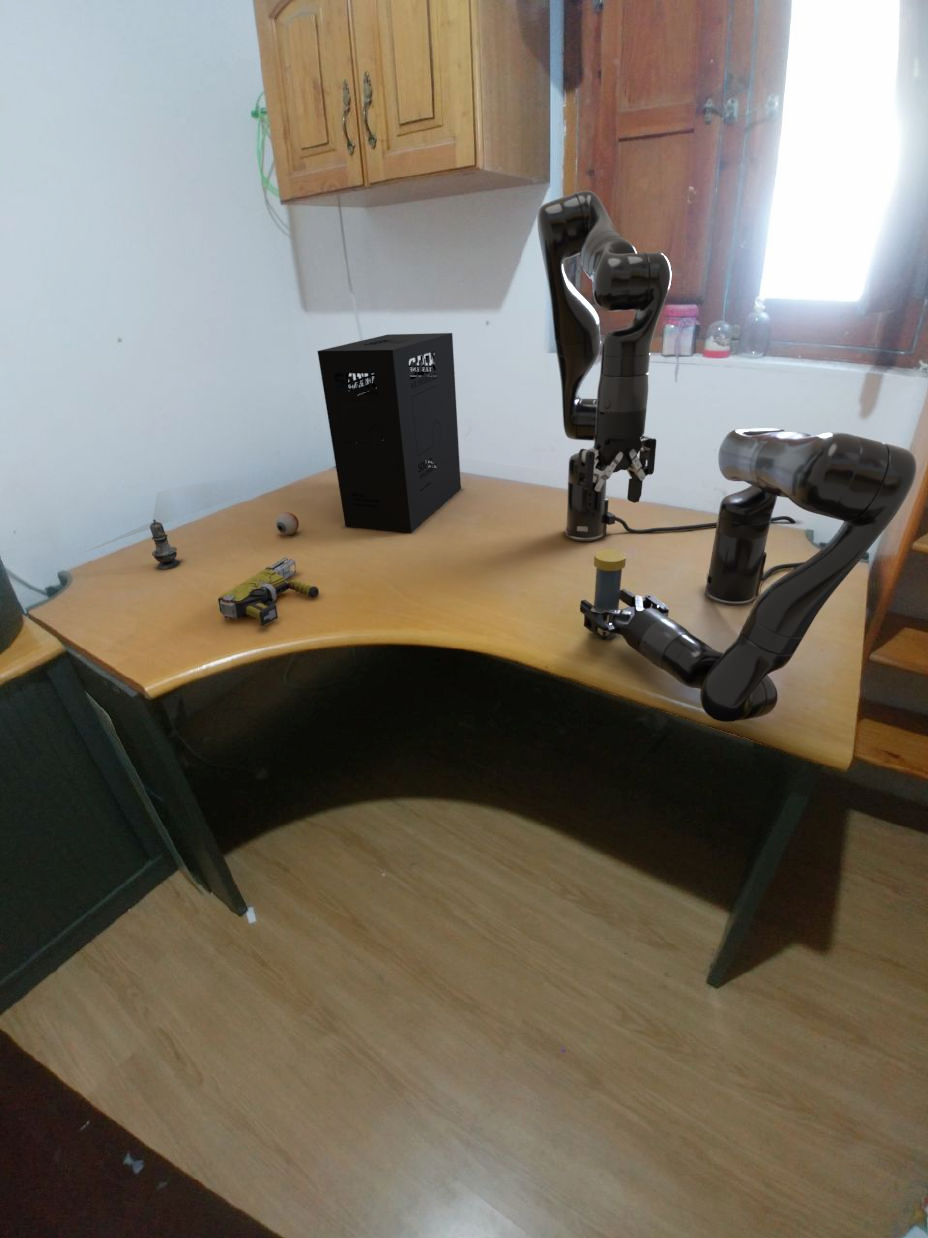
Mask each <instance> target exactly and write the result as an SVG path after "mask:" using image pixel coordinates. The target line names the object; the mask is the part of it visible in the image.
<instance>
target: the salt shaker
mask: <svg viewBox="0 0 928 1238" xmlns="http://www.w3.org/2000/svg"><path fill="white" fill-rule="evenodd" d="M149 529H150V532H151V536H152V537H151V540H152V541H153V542H154V546H155V550H153V551H152V552H151V556H152V557H153V559H155V561H157V562H158V564H157V567H156V568H158V569H160V570H167V569H168V570H169V569H172V568H175V567H177V566H178V565H180V563H181V562H180V560H179V559H176V557H177V556H178V554H177V553H178V552H177V551H178V548H177V547H175V546H171V544H170V543H169V540H168V534H166V531H165V528H164V525H163V523H161V522H158V521H157V520H156V519H153V520H152V523H150V525H149Z"/></svg>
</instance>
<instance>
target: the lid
mask: <svg viewBox="0 0 928 1238" xmlns="http://www.w3.org/2000/svg"><path fill="white" fill-rule="evenodd" d="M626 563H627V555H626V553H625V552H624V551H622V550H618V549H613V548H609V549H608V548H605V549H604V548H603V549H600V550H597V551H596V552H595V553H594V556H593V566H594V567H595V568H598V569H600V570H604V571H618V570H621V569H622V570H623V569H624V568H625V567H626Z"/></svg>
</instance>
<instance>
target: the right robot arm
mask: <svg viewBox="0 0 928 1238" xmlns="http://www.w3.org/2000/svg"><path fill="white" fill-rule="evenodd" d="M717 462H718V468H719V472H720V474H721V476H723V478H724V479H726V480H727V481H731V482H745V483H747V484H749V485H750V486H748V487H747V488H744V489H741V490H740V491H737V492H733V493H731V494H728V495H726V496H725V497H723V498H722V499H721V501H720V504H719V507H718V508H719V509H718V515H717V519H716V520H717V521H716V522H717V526H715V534H714V539H713V544H712V551H711V556H710V562H709V563H710V564H709V568H708V571H707V572H706V586H705V588H704V594H705V596H706V597H707V598H708V599H709V600H711V601H713V602H714V603H717V604H720V605H724V606H730V607H731V606H732V607H740V606H741V607H742V606H746V605H747V606H748V605H750V604H752V603H753V602H754V601H755V598H756V597H758V596H759V597H758V598H757V599H756V601H755V603H754V604H753V606H752V608H751V610H750V611H749V614H748V615H747V617H746V620H745V621H744V624H743V625H742V627H741V629H740V632H739V634H738V636H737V637H736V639H735V640H734V641H733V642H732V643H731V644H730V646H728V648H726V650H724V652H721V651H718V650H716V649H715V648H713V647H712V646H709V645H708V644H707V643H706V642H705V641H702V640H701V639H699V638H698V637H696V636H695V635H693V634H692V633H691V632H690V631H689V630H687V629H686V628H685V627H684V626H683V625H681V624H679V623H678V622H677V621H675V620H673V619H671V618H670V617H669V613H670V607H669V606H667V605H666V604H665V603H663V602H662V601H661V600H659V599H657V598H656V597H655V596H653V595H652V594H646V595H645V597H643V596H641V595H636V594H634V593H633V592H631V591H629V590H627V589H625V588H622V589H620V598H619V601H621V602H622V603H624V604H625V605H627V606H626V607H624V608H620V609H619V610H615V609H610V608H606V609H605V610H602V609H597V608H596V607H595V606H594V604H593V603H591V602H589V601H588V600H587V599H582V600H580V603H579V611H580V613H581V614H583V627H584V628H586V629H587V630H588V631H589V632H591V633H592V632H593V633H594V634H595V635H597V636H598V637H600V638H601V639H600V638H599V639H600V640H603V641H604V640H605V641H606V640H609V639H608V635H609V634H612V633H616V635H619V636H621V637H622V638H623V639H624V641H625V642H626V644H627V645H628V646H629V647H630V648H632V649H633V650H634V651H635V652H637V653H638V654H639V655H641V656H642V657H644V658H645V659H646V660H647V661H649V662H650V663H651V664H653V666H656V667H657V668H659V669H661V670H662V671H664V672H666V673H667V674H669V675H670V676H671V677H672V678H674V679H675V680H676V681H678V682H679V683H680V684H682V685H683V686H685V687H688V688H689V689H690V688H691V689H696V690H697V689H698V690H700V692H699V698H700V704H701V708H702V709H703V711H704V712H705V714H706V716H709V717H710V718H711V719H712V720H715V721H716V722H722V723H731V722H732V723H733V722H739V721H745V720H751V719H758V718H762V717H764V716H766V715H768V714H770V713H772V711H773V710H774V709H775V708H776V706H777V704H778V698H779V695H778V689H777V686H776V684H775V683H774V681H773V679H772V678H770V676H769V674H772V673H774V672H776V671H778V670H781V669H783V668H784V667H785V666H786V665H787V664H788V663H789V662H790V661H791V660H792V658H793V656H794V654H795V652H796V651H797V649H798V647H799V646H800V644H801V642H802V641H803V639H804V637H805V636H806V634H807V632H808V630H809V628H810V626H811V625H812V623H813V621H814V620H815V618H816V617H817V615H818V614H819V612H820V610H821V609H822V608H823V607H824V606H825V603H826V602H827V601H828V600H829V598H830V597H831V596H832V594H834V592H835V591H836V590H837V588H838V587H839V586H840V585H841V584H842V583H843V581H845V579H846V577H848V575H849V574H850V573H851V571H853V569H854V568H855V567H856V565H858V563H859V562H860V561H861V559H862V558H863V557H864V556H865V554H866V553H867V552H868V550H869V549H870V548H871V547H872V545H874V543H875V542H876V540H877V539H878V538H879V537H880V536H881V534H882V533H883V532H884V531H885V530H886V528H887V527H888V525H889V524H891V521H892V520H893V519H894V517H895V516H896V515H897V514H898V512H899V510H900V509H901V507H902V506H903V504H904V503H905V501H906V500H907V498H908V496H909V494H910V492H911V490H912V488H913V486H914V483H915V480H916V475H917V470H918V469H917V468H918V465H917V460H916V458H915V455H914V454H913V453H912V452H911V451H910V450H908V449H906V448H904V447H901V446H897V445H894V444H889V443H886V442H882V441H878V440H875V439H870V438H866V437H862V436H858V435H854V434H851V433H845V432H824V433H819V434H814V435H811V434H809V433H806V432H802V431H792V430H791V431H789V430H785V429H783V428H778V427H777V428H775V427H773V428H770V427H767V428H737V429H734V430H731V431H729V432H728V433H727V434H726V435H725V437H724V438H723V440H722V441H721V443H720V446H719V449H718V455H717ZM778 497H779V498H787V499H788V500H789V501H791V502H792V503H793V504H794V505H796V506H798V507H799V508H800V509H801V510H804V511H807V512H809V513H812V514H815V515H820V516H824V517H828V518H832V519H834V520H835V519H836V520H838V521H842V523H841V526H840V527H839V529H838V530H837V531H836V533H835V534H834V536H833V537H832V538H831V539H830V540H829V541H828V542H827V544H826V545H824V546H823V547H822V548H821V549H820V550H819V551H818V552H816V553H815V554H814V555H812V556H811V557H810V558H809V559H807V560H806V561H802V562H793V563H783V564H778V565H775V566H773V567H770V568H769V569H768V570H767V571H766V572H765V573H764V570H765V565H766V561H767V552H766V551H765V549H766V545H767V540H768V537H769V536H768V535H769V530H770V526H771V522H772V521H771V518H773V512H774V509H775V507H776V503H777V499H778ZM784 569H785V570H786V569H792V570H790V571H789V572H787V573H786V574H784V575H783V576H782V577H780V578H778V579H777V580H776V581H774V582H773V583H772V584H770V585H769V586H768V587H767V588H766V589H765V590H764V591H762V593H761V594H760V595H759V592H760V587H761V583H762V582H763V581H766V580H767V579H768V578H769V577H770V575H772V574H773V573H775V572H777V571H779V570H784ZM598 615H602V616H603V619H599V618H598ZM609 615H613V624H611V623H610V622H609ZM593 633H592V634H593Z"/></svg>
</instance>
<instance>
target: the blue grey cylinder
mask: <svg viewBox="0 0 928 1238" xmlns="http://www.w3.org/2000/svg"><path fill="white" fill-rule="evenodd" d="M595 568H596V567H595ZM595 570H596V571H595V581H594V582H595V584H594V596H593V597H594V598H593V606H595V607H596V608H597V609H602V610H605V609H606V608H610V609H615V610H619V608H620V599H619V598H620V590H621V587H622V586H621V585H622V574H623V569H621V570H618V571H604V570H600V569H598V568H596V569H595ZM598 618H599V619H603V616H602V615H598ZM609 622H610V623H611V624H613V615H609ZM591 634H592V635H593V636H594V637H595V638H597V639H600V640H602V639H601V638H600V637H598V636H597V635H595V634H594V633H593V632H591ZM616 636H617V634H616V633H612V634H609V635H608V639H607V640H610V639H614V638H615V637H616Z"/></svg>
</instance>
